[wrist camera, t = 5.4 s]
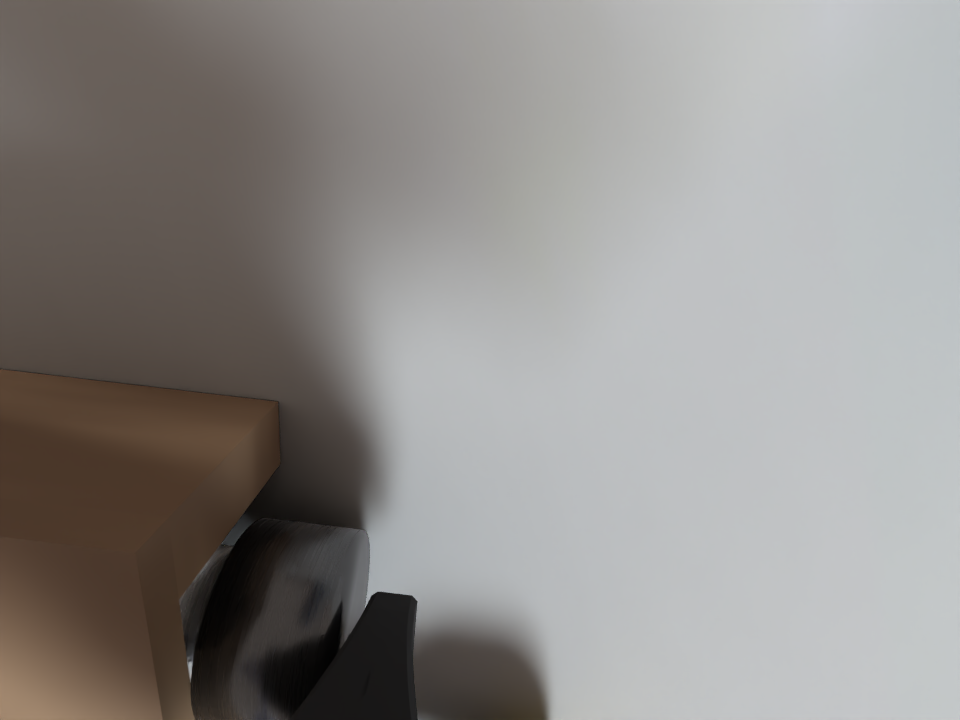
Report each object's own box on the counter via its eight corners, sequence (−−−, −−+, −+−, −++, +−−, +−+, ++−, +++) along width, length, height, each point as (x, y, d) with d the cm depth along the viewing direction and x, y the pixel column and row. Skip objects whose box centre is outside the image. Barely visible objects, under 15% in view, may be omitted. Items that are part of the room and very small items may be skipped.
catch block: (292, 796, 16) (214, 1030, 11) (-7, 759, 16) (-194, 977, 12) (278, 401, 11) (135, 552, 7) (-148, 351, 11) (-549, 470, 7)
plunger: (367, 621, 12) (315, 791, 9) (-41, 571, 13) (-241, 722, 9) (372, 493, 11) (313, 637, 8) (-83, 439, 11) (-334, 559, 8)
